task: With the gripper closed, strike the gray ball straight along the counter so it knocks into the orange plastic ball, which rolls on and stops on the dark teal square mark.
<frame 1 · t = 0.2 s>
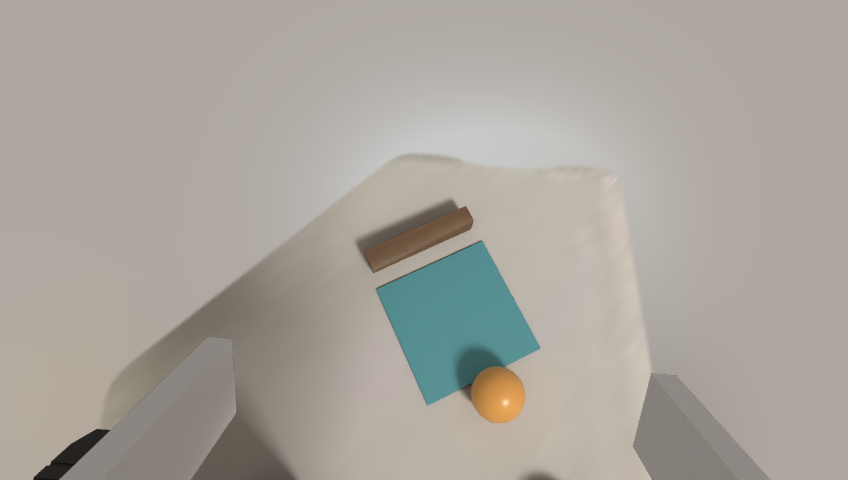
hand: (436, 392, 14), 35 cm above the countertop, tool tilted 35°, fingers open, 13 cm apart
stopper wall: (419, 243, 52), on the countertop
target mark: (456, 318, 50), on the countertop
object ball: (497, 394, 44), on the countertop
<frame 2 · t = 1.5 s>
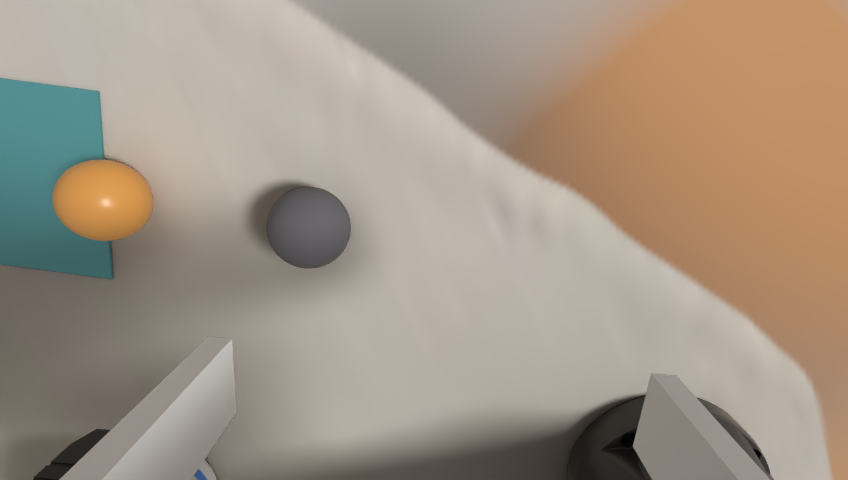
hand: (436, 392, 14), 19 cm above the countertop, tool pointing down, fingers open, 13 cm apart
supplement tub: (172, 477, 39), on the countertop
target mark: (13, 177, 32), on the countertop
gray ball: (309, 227, 29), on the countertop
object ball: (105, 200, 29), on the countertop
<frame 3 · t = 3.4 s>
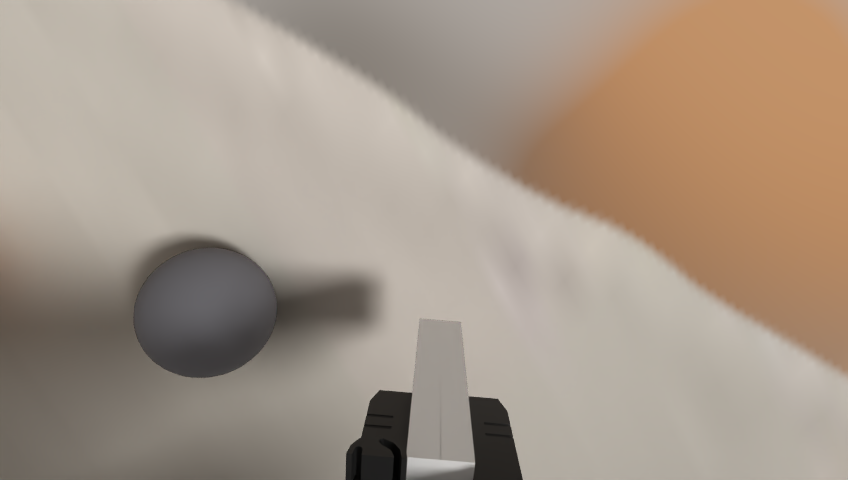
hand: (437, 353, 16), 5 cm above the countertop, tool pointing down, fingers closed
gray ball: (210, 311, 19), on the countertop
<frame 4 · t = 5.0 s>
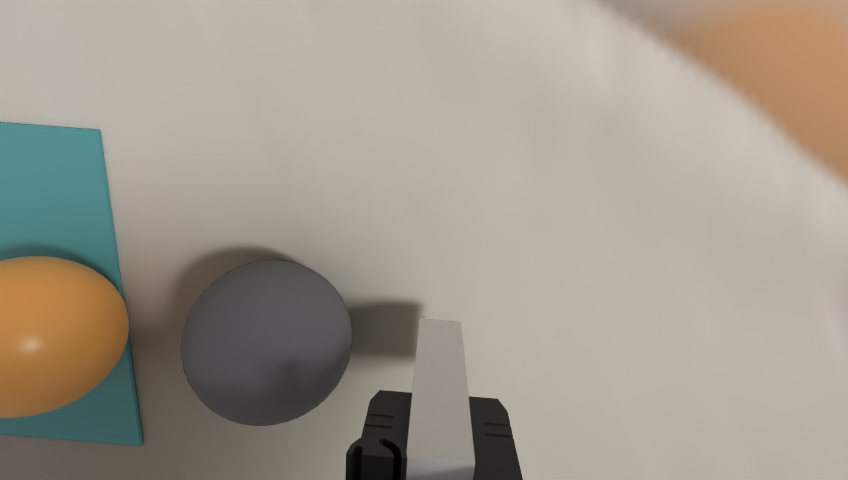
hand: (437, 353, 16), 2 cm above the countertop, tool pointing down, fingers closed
gray ball: (272, 339, 15), on the countertop
object ball: (34, 333, 15), on the countertop
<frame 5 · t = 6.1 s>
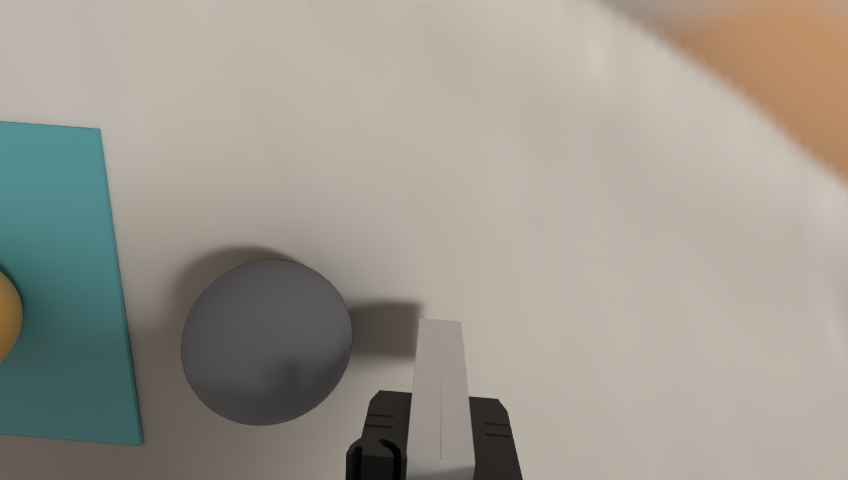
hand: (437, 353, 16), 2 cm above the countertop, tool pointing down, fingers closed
gray ball: (272, 339, 15), on the countertop
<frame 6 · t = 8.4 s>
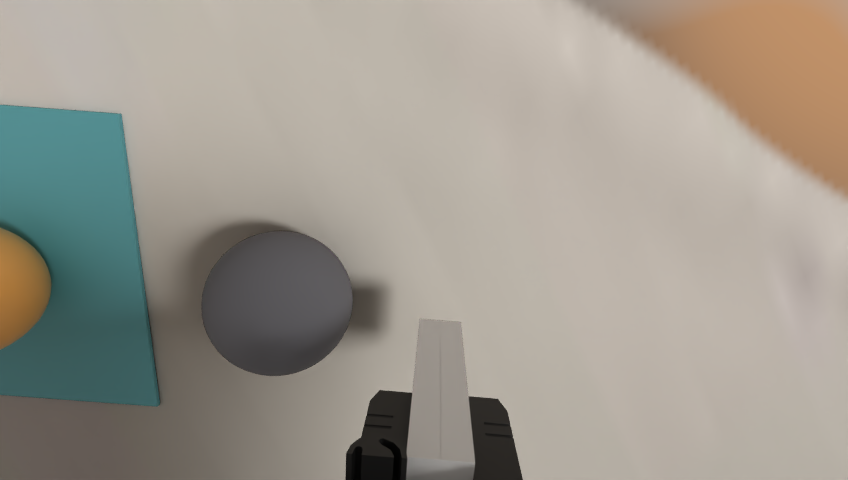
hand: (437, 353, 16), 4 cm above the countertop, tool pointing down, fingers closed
gray ball: (281, 301, 17), on the countertop
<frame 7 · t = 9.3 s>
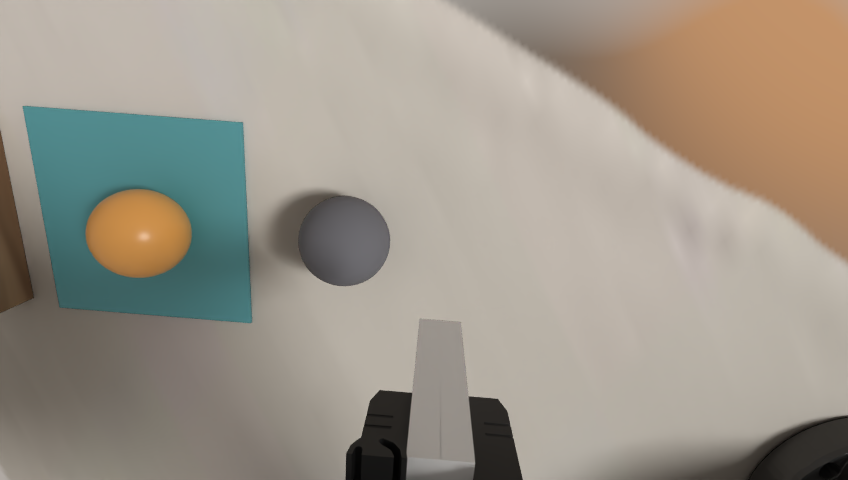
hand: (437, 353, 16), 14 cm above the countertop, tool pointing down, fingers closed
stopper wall: (1, 209, 30), on the countertop
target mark: (146, 220, 29), on the countertop
gray ball: (345, 241, 26), on the countertop
object ball: (141, 233, 27), on the countertop
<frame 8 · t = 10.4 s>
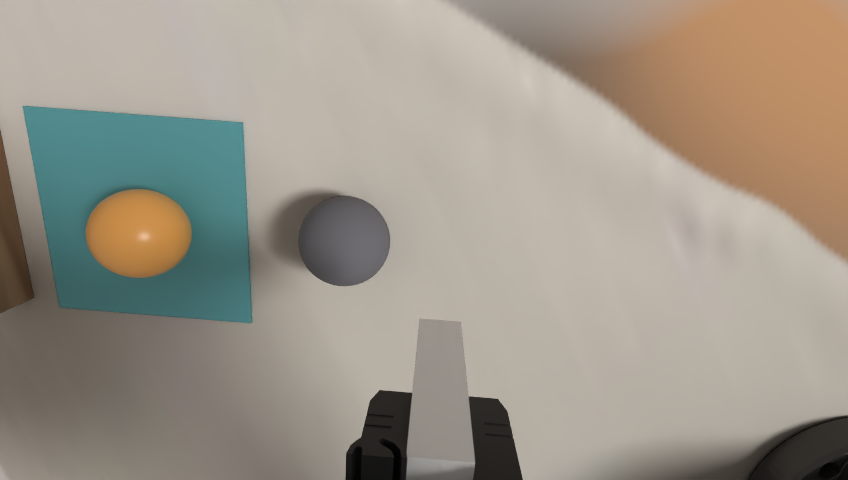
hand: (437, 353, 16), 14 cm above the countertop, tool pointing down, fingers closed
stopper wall: (1, 209, 30), on the countertop
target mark: (146, 220, 29), on the countertop
gray ball: (345, 241, 26), on the countertop
object ball: (141, 233, 27), on the countertop
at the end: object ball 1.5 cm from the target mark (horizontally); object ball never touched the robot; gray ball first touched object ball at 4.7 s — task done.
